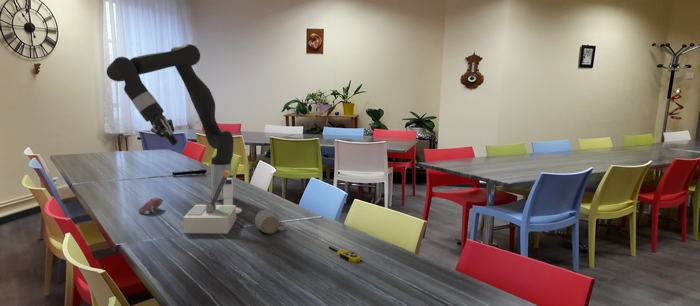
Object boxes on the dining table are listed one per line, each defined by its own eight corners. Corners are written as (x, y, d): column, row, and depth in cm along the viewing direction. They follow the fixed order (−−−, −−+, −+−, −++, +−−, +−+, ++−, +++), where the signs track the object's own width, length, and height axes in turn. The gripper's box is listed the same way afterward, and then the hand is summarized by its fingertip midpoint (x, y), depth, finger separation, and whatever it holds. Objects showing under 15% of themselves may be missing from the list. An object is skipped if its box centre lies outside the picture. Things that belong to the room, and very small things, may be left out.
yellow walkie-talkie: (352, 258, 138) (323, 245, 149) (352, 264, 138) (323, 250, 149) (363, 255, 141) (334, 242, 152) (363, 261, 141) (333, 247, 152)
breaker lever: (206, 210, 167) (224, 171, 165) (209, 207, 171) (226, 169, 169) (211, 212, 167) (229, 173, 166) (213, 209, 171) (230, 171, 169)
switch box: (183, 233, 160) (183, 209, 159) (196, 218, 178) (195, 197, 177) (228, 233, 162) (228, 209, 160) (235, 219, 179) (235, 197, 178)
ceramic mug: (261, 236, 160) (261, 216, 159) (254, 229, 167) (254, 210, 166) (288, 232, 165) (289, 213, 164) (280, 226, 172) (280, 207, 171)
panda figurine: (216, 207, 196) (216, 174, 194) (242, 207, 198) (242, 174, 196) (213, 215, 184) (213, 180, 182) (241, 214, 186) (241, 180, 184)
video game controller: (145, 217, 182) (152, 203, 181) (137, 212, 183) (143, 198, 181) (160, 211, 192) (166, 198, 190) (151, 206, 192) (157, 193, 191)
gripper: (145, 104, 159) (175, 143, 162) (163, 98, 171) (190, 134, 175) (130, 115, 160) (160, 153, 164) (149, 108, 173) (176, 144, 177)
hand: (175, 143), depth 169 cm, fingers closed
